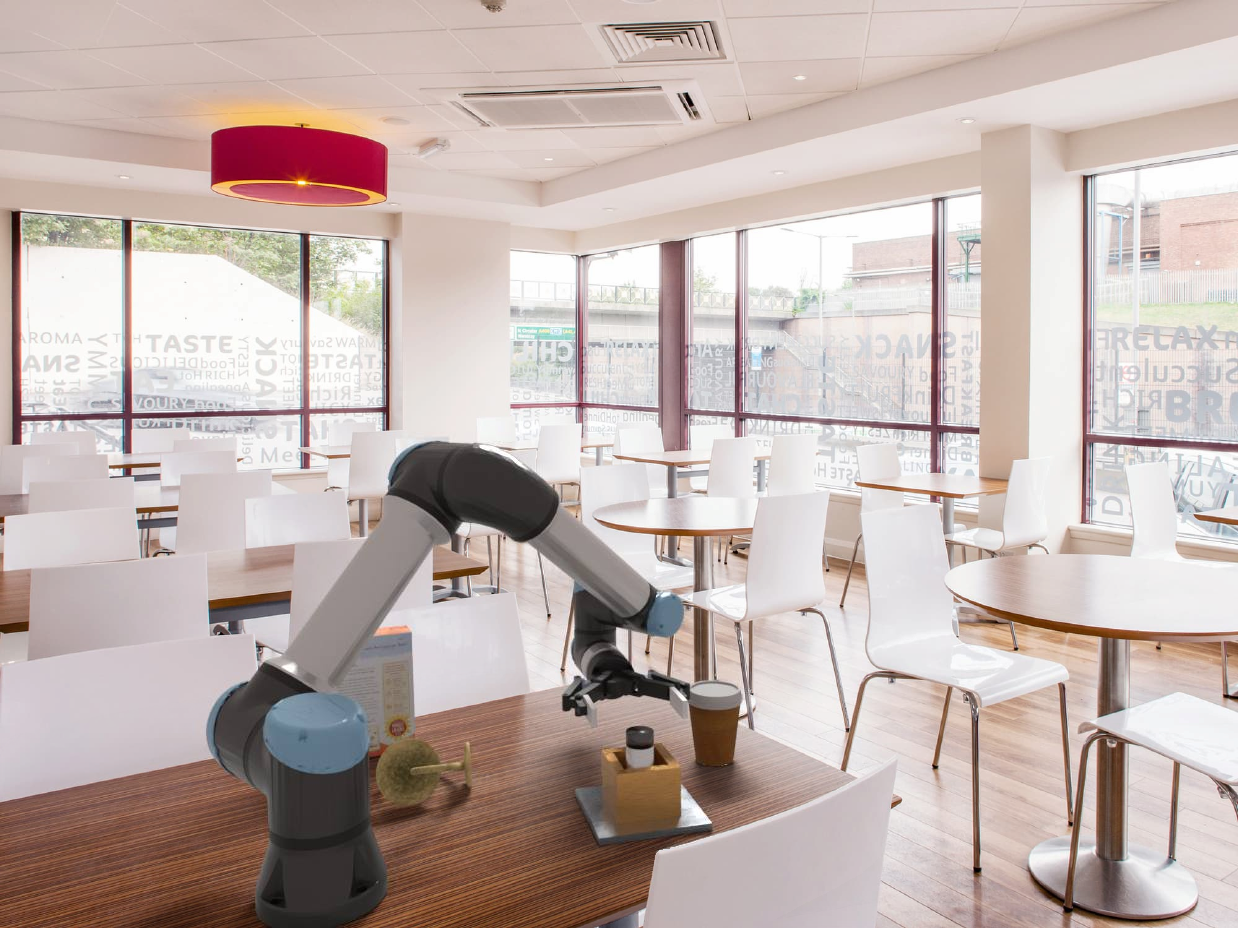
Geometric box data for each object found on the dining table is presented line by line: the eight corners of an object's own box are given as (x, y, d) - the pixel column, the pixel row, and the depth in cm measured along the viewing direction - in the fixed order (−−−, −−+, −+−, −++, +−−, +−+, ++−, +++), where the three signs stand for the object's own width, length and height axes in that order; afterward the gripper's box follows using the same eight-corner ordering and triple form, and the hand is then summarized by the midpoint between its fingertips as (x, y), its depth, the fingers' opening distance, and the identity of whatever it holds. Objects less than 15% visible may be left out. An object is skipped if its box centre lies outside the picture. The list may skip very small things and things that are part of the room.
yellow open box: (599, 845, 119) (598, 787, 119) (575, 794, 135) (574, 743, 134) (712, 829, 123) (711, 773, 123) (676, 782, 139) (675, 732, 138)
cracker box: (411, 739, 158) (408, 623, 156) (416, 751, 152) (413, 631, 151) (328, 751, 153) (324, 631, 151) (330, 764, 147) (326, 640, 146)
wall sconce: (467, 734, 146) (471, 727, 123) (471, 795, 143) (475, 800, 120) (380, 743, 143) (367, 738, 120) (381, 806, 140) (368, 813, 117)
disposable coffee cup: (681, 768, 144) (680, 695, 144) (690, 746, 154) (690, 677, 153) (740, 773, 142) (740, 699, 141) (746, 750, 151) (746, 681, 150)
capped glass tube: (630, 819, 127) (629, 737, 126) (623, 807, 131) (622, 727, 130) (657, 816, 128) (657, 734, 127) (649, 803, 132) (649, 724, 131)
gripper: (678, 686, 153) (721, 730, 133) (534, 699, 147) (555, 747, 127) (678, 643, 153) (721, 681, 132) (533, 655, 147) (555, 696, 126)
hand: (640, 713), depth 129 cm, fingers open, 13 cm apart
